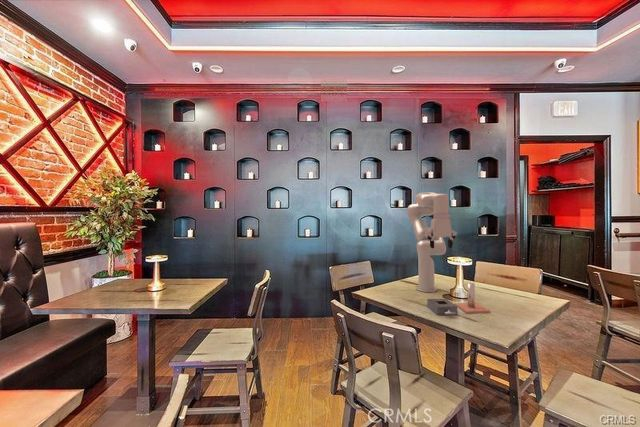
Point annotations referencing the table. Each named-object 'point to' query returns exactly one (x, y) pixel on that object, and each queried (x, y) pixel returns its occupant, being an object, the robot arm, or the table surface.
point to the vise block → (442, 306)
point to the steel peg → (471, 295)
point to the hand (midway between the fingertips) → (441, 247)
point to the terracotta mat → (477, 308)
